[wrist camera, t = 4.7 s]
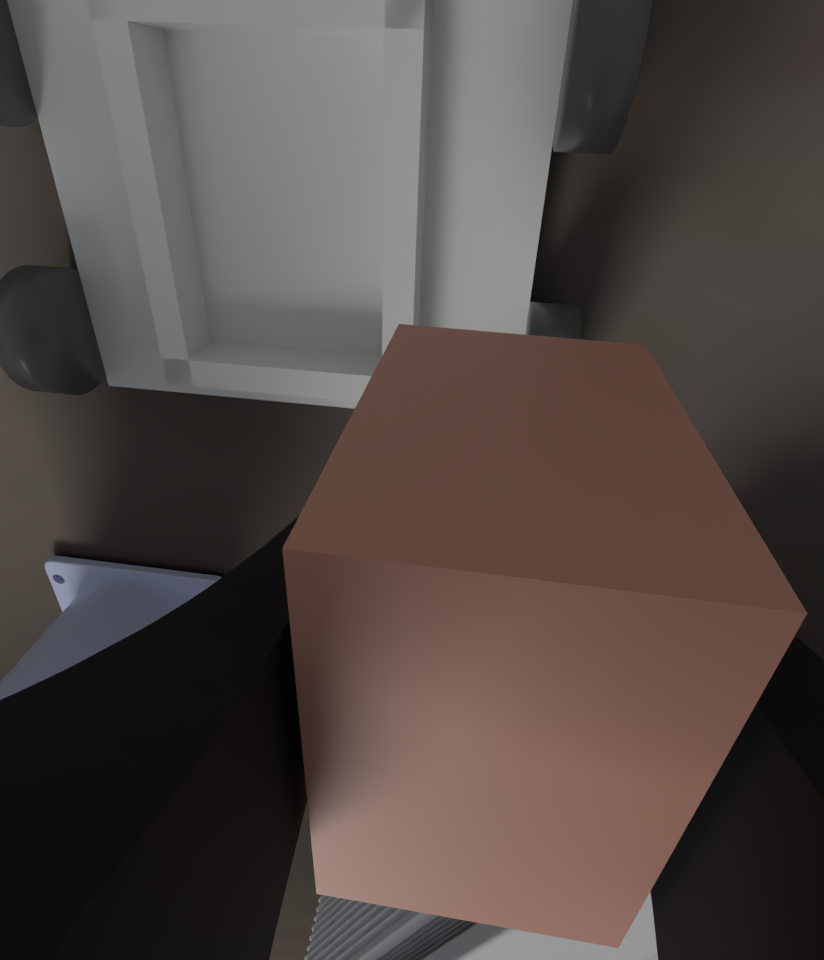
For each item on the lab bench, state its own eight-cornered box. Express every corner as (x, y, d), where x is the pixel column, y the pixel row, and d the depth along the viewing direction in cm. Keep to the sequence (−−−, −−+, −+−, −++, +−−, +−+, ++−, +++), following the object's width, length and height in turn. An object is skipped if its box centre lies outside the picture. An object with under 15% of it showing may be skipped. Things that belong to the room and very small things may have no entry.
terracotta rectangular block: (573, 613, 13) (617, 947, 8) (390, 590, 13) (316, 893, 8) (644, 344, 9) (808, 614, 4) (398, 324, 10) (282, 548, 5)
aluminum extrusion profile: (898, 731, 24) (1108, 1062, 16) (510, 951, 40) (511, 1171, 32) (607, 589, 22) (667, 876, 14) (323, 879, 38) (271, 1092, 30)
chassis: (550, 412, 18) (559, 471, 15) (92, 371, 20) (17, 417, 17) (635, -56, 12) (676, -110, 9) (-28, -64, 14) (-176, -113, 11)
